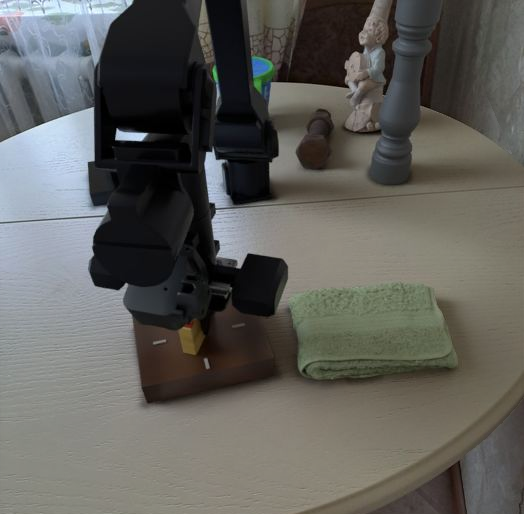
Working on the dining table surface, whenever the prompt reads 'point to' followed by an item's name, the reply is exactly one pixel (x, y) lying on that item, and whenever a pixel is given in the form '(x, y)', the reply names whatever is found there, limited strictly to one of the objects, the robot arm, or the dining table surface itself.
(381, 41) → the figurine
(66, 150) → the dining table surface
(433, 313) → the washcloth
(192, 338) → the lock knob
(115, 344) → the dining table surface
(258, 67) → the snack cup
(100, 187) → the block
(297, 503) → the dining table surface
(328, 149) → the bolt
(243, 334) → the panel
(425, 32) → the candle holder
